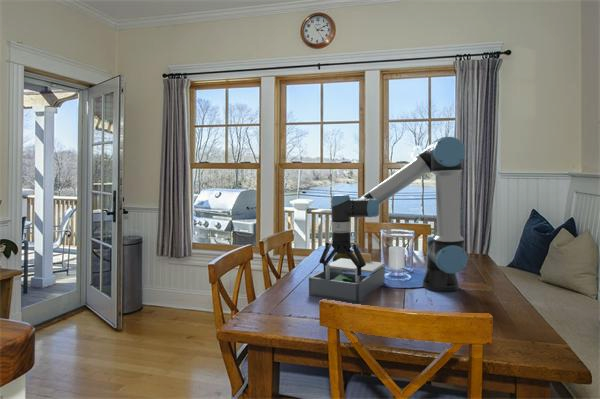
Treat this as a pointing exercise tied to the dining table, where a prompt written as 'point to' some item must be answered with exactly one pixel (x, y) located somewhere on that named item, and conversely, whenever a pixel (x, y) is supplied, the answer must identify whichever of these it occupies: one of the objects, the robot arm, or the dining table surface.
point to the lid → (349, 265)
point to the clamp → (343, 278)
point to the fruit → (341, 256)
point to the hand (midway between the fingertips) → (342, 281)
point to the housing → (345, 285)
